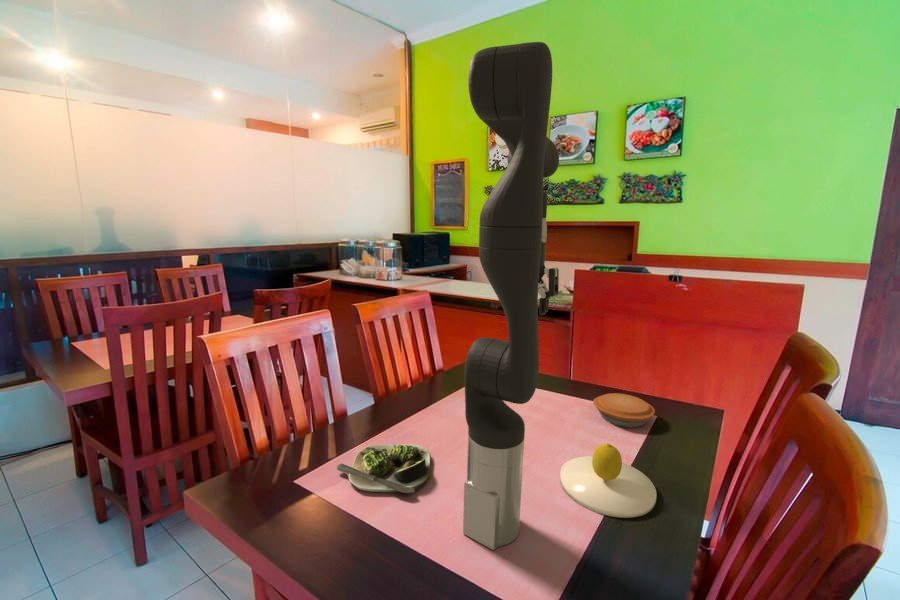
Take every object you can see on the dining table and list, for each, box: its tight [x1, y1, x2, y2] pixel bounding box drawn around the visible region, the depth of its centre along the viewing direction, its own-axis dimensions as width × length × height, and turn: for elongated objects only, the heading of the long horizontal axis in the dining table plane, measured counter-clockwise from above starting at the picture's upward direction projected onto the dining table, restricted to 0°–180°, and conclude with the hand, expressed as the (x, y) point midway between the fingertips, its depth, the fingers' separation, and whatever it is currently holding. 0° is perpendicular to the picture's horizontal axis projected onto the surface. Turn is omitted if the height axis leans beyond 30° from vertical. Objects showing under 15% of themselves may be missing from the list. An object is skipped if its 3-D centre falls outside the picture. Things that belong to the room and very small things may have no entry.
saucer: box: [559, 455, 657, 519], centre depth 83 cm, size 18×18×1 cm
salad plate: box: [336, 443, 432, 494], centre depth 87 cm, size 19×18×5 cm
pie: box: [592, 392, 656, 428], centre depth 113 cm, size 16×16×5 cm
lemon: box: [592, 443, 623, 481], centre depth 83 cm, size 6×6×8 cm
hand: (524, 311), depth 94 cm, fingers open, 8 cm apart
